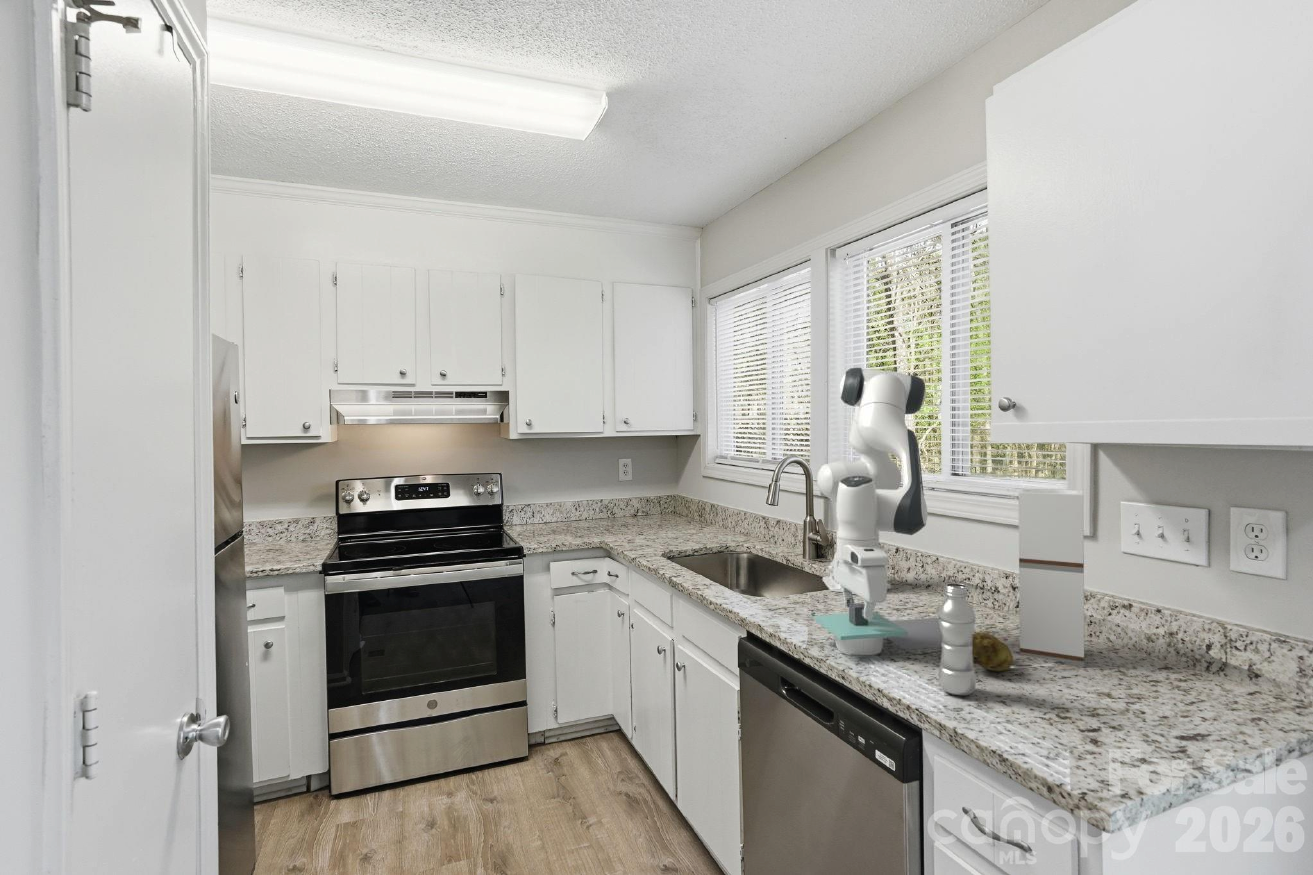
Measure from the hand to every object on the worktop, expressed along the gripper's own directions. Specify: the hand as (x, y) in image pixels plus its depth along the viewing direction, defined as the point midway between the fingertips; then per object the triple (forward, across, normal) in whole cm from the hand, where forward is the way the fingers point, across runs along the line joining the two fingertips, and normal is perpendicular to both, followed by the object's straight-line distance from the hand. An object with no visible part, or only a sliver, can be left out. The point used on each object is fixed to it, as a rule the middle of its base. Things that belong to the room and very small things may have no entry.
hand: (858, 612), depth 146 cm
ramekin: (+9, 0, 0) cm, 9 cm away
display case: (+9, +10, +39) cm, 41 cm away
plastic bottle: (+9, +25, +8) cm, 28 cm away
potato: (+9, +16, +21) cm, 28 cm away
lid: (+3, 0, 0) cm, 3 cm away
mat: (+8, -7, +19) cm, 22 cm away
